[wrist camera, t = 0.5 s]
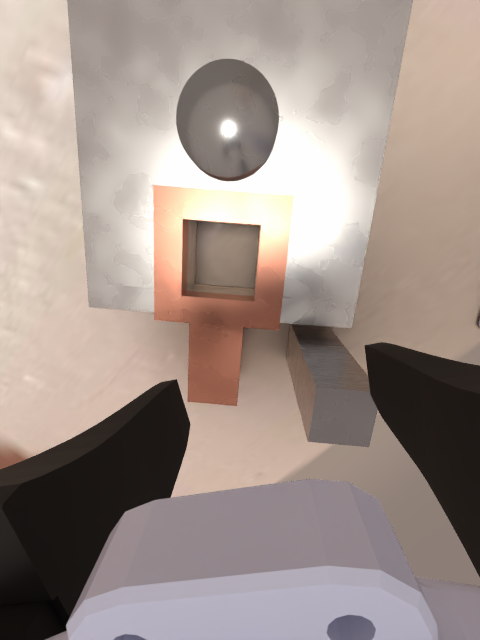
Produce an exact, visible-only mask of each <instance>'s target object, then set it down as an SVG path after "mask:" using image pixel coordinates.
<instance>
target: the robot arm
mask: <svg viewBox="0 0 480 640" xmlns="http://www.w3.org/2000/svg"><path fill="white" fill-rule="evenodd" d="M479 327H480V320H479ZM365 353H366V361H367V370H368V378H369V387H370V395H371V397H372V399H373V401H374V403H375V405H376V407H377V409H378V411H379V413H380V414H381V416H382V418H383V419H384V421H385V422H386V423H387V425H388V426H389V428H390V429H391V431H392V432H393V433H394V435H395V436H396V438H397V439H398V440H399V442H400V443H401V444H402V446H403V447H404V449H405V450H406V451H407V453H408V454H409V456H410V457H411V458H412V460H413V461H414V463H415V464H416V465H417V467H418V468H419V470H420V471H421V473H422V474H423V476H424V477H425V479H426V480H427V482H428V484H429V485H430V487H431V489H432V491H433V492H434V494H435V496H436V497H437V499H438V501H439V503H440V504H441V506H442V508H443V510H444V512H445V513H446V515H447V517H448V519H449V520H450V522H451V524H452V526H453V528H454V530H455V531H456V533H457V535H458V537H459V539H460V540H461V542H462V544H463V546H464V548H465V550H466V552H467V554H468V555H469V558H470V559H471V561H472V563H473V565H474V567H475V569H476V571H477V573H478V575H479V576H480V366H478V365H472V364H467V363H462V362H458V361H453V360H449V359H445V358H441V357H437V356H433V355H429V354H425V353H422V352H418V351H415V350H411V349H408V348H404V347H401V346H397V345H393V344H389V343H383V342H381V343H376V344H370V345H365ZM189 430H190V421H189V418H188V415H187V412H186V408H185V405H184V402H183V399H182V395H181V392H180V389H179V385H178V382H177V379H176V380H171V381H165V382H161V383H159V384H157V385H155V386H154V387H152V388H150V389H149V390H147V391H146V392H144V393H143V394H142V395H140V396H139V397H137V398H136V399H134V400H133V401H132V402H130V403H129V404H127V405H126V406H124V407H123V408H121V409H120V410H118V411H117V412H115V413H114V414H112V415H111V416H109V417H108V418H106V419H105V420H103V421H102V422H100V423H98V424H97V425H95V426H93V427H92V428H90V429H88V430H86V431H85V432H83V433H81V434H79V435H77V436H75V437H74V438H72V439H70V440H68V441H66V442H64V443H61V444H59V445H57V446H55V447H53V448H51V449H49V450H47V451H44V452H42V453H40V454H38V455H36V456H33V457H31V458H29V459H26V460H24V461H21V462H19V463H16V464H14V465H11V466H9V467H6V468H3V469H1V470H0V640H480V586H477V585H470V584H463V583H456V582H450V581H444V580H437V579H430V578H424V577H417V576H414V574H413V571H412V569H411V567H410V565H409V563H408V561H407V559H406V556H405V554H404V552H403V550H402V547H401V546H400V543H399V541H398V539H397V537H396V535H395V532H394V530H393V528H392V526H391V524H390V522H389V520H388V518H387V516H386V514H385V512H384V510H383V508H382V506H381V504H380V502H379V500H378V499H377V498H375V497H373V496H371V495H370V494H368V493H366V492H365V491H363V490H361V489H359V488H358V487H356V486H354V485H353V484H351V483H349V482H344V481H331V480H317V479H305V480H297V481H290V482H283V483H275V484H268V485H261V486H253V487H246V488H239V489H231V490H224V491H217V492H209V493H202V494H195V495H188V496H180V497H173V498H170V497H171V494H172V491H173V488H174V485H175V482H176V479H177V476H178V473H179V470H180V467H181V464H182V460H183V457H184V454H185V451H186V447H187V442H188V437H189Z"/></svg>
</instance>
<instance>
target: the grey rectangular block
mask: <svg viewBox="0 0 480 640" xmlns="http://www.w3.org/2000/svg"><path fill="white" fill-rule="evenodd" d="M286 359H287V363H288V367H289V371H290V375H291V378H292V382H293V386H294V390H295V394H296V398H297V401H298V405H299V409H300V413H301V417H302V421H303V425H304V428H305V432H306V436H307V440H308V442H318V443H329V444H340V445H352V446H363V447H369V445H370V440H371V436H372V431H373V427H374V423H375V418H376V414H377V410H378V409H377V407H376V405H375V403H374V401H373V399H372V397H371V395H370V387H369V378H368V375H367V374H366V373H365V372H364V370H363V369H362V368H361V367H360V365H359V364H358V363H357V362H356V360H355V359H354V358H353V357H352V355H351V354H350V353H349V352H348V350H347V349H346V348H345V347H344V345H343V344H342V343H341V342H340V340H339V339H338V338H337V336H336V335H335V334H334V333H333V331H332V330H331V329H330V328H329V327H327V326H314V325H302V324H290V331H289V339H288V347H287V355H286Z"/></svg>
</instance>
